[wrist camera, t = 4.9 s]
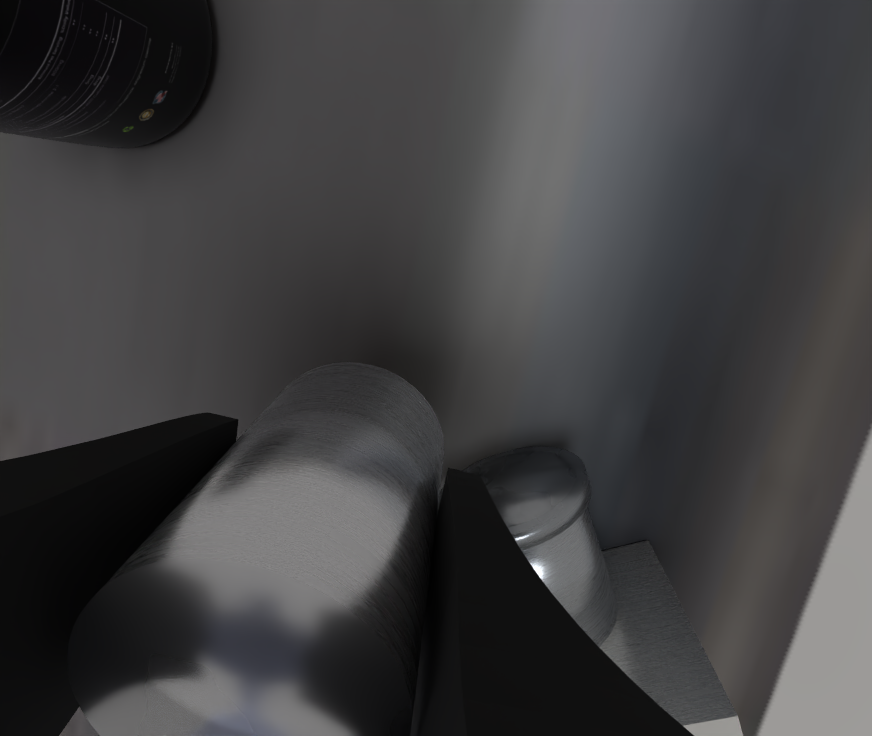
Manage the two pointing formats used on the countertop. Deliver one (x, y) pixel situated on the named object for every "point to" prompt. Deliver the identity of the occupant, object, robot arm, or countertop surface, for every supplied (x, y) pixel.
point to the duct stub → (607, 585)
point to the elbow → (279, 577)
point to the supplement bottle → (102, 68)
